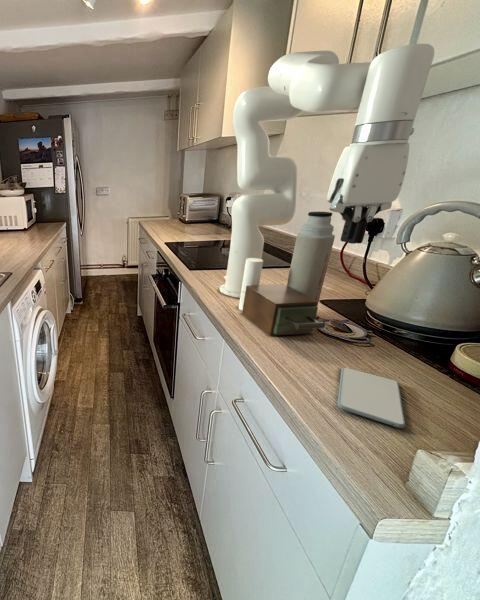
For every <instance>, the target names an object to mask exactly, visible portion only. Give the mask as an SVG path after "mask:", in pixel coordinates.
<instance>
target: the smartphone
mask: <svg viewBox="0 0 480 600" xmlns="http://www.w3.org/2000/svg"><path fill="white" fill-rule="evenodd" d="M336 406H337V407H338V408H339V409H340V410H342V411H345V412H348V413H351V414H355V415H358V416H360V417H364V418H367V419H371V420H373V421H376V422H380V423H382V424H385V425H388V426H392V427H395V428H397V429H403V428H405V427H406V419H405V415H404V409H403V401H402V396H401V390H400V384H399V381H396V380H395V379H392V378H388V377H385V376H380V375H378V374H377V375H376V374H372V373H369V372H365V371H362V370H359V369H353V368H349V367H345V366H344V367H341V369H340V376H339V387H338V394H337V405H336Z"/></svg>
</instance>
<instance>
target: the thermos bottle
mask: <svg viewBox="0 0 480 600" xmlns="http://www.w3.org/2000/svg"><path fill="white" fill-rule="evenodd" d="M307 216H308V217H307V220H306V223H304V224H302V225H301V227H300V232H298V233H296V238H295V244H294V248H293V252H292V257H291V263H290V267H289V272H288V277H287V283H286V286H287V287H289V288H291V289H293V290H295V291H297V292H299V293H301V294H303V295H305V296H307V297H309V298H311V299H313V300H315V301H317V302H318V303H317V307H318V305H319V302H320V297H321V295H322V290H323V285H324V282H325V277H326V274H327V270H328V266H329V263H330V258H331V255H332V254H331V253H332V249H333V245H334V243H335V238H336V235H335V234H333V232H334V231H335V230H334V229H335V227H334V225H332V224H331V222H332V216H333V212H332V211H309V212H308V213H307Z"/></svg>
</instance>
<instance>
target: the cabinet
mask: <svg viewBox="0 0 480 600" xmlns="http://www.w3.org/2000/svg"><path fill="white" fill-rule="evenodd" d="M317 303H318V304H319V302H317V301H315V300H313V299H311V298H309V297H307V296H305V295H303V294H301V293H299V292H297V291H295V290H293V289H291V288H289V287H287V285H286V284H283V283H275V284H273V283H271V284H259V285H251V286H246V292H245V298H244V304H243V311H242V310H241V315H243V316H244V317H245V318H246V319H248V320H249V321H250V322H252V323H253V324H254V325H256V326H257V328H259V329H260V330H262V331H263V332H264V333H266V334H267V335H268V336H269V337H273V336H277V335H276V334H274V333H273V330H274V325H275V320H276V315H277V310H278V307H281V306H301V305H307V306H314V305H315V306H317ZM317 307H318V306H317ZM309 334H311V333H298V334H297V335H309ZM290 335H291V336H293V335H295V334H279V335H278V336H290Z"/></svg>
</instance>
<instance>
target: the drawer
mask: <svg viewBox="0 0 480 600" xmlns="http://www.w3.org/2000/svg"><path fill="white" fill-rule="evenodd" d="M318 309H319V307H318V306H315V305H314V306H307V305H301V306H293V307H278V310H277V315H276V320H275V325H274V330H273V333H274V334H276V335H275V336H280V335H279V334H294V335H299V334H298V333H310V334H312V333H313V329H314V330H315V329H325V328H326V323H325V321H324V322H323V321H319V320H317V319H316V317H317V314H318Z"/></svg>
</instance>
